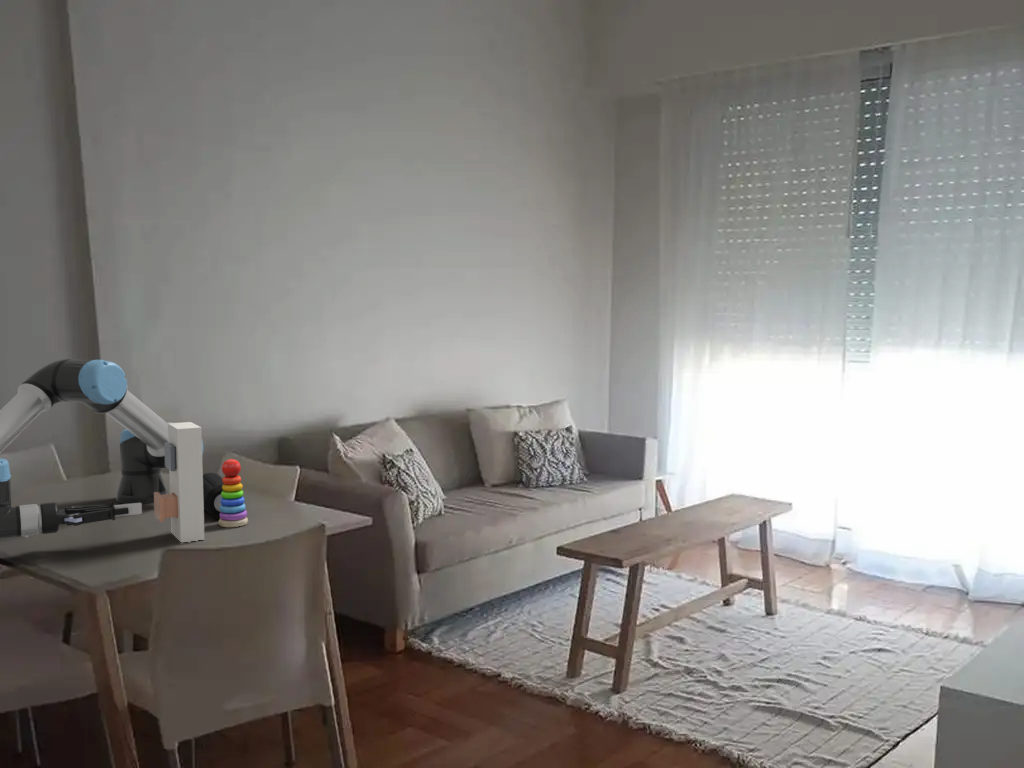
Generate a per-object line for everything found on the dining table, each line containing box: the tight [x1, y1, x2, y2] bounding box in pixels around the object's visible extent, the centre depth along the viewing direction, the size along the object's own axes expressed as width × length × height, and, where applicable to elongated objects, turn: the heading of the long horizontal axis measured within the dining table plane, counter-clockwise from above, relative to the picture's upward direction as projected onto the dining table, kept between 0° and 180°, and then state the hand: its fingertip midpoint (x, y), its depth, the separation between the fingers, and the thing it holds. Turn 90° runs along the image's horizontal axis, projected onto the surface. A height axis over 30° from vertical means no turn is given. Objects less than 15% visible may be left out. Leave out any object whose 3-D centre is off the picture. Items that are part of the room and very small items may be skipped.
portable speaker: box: [203, 472, 224, 519], centre depth 276 cm, size 26×10×10 cm, turn 29°
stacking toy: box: [218, 458, 249, 528], centre depth 259 cm, size 8×8×19 cm
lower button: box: [153, 492, 178, 523], centre depth 244 cm, size 8×7×6 cm
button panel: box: [168, 421, 205, 543], centre depth 245 cm, size 12×6×30 cm, turn 32°
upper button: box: [164, 443, 177, 471], centre depth 244 cm, size 8×7×6 cm
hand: (141, 508), depth 240 cm, fingers closed
